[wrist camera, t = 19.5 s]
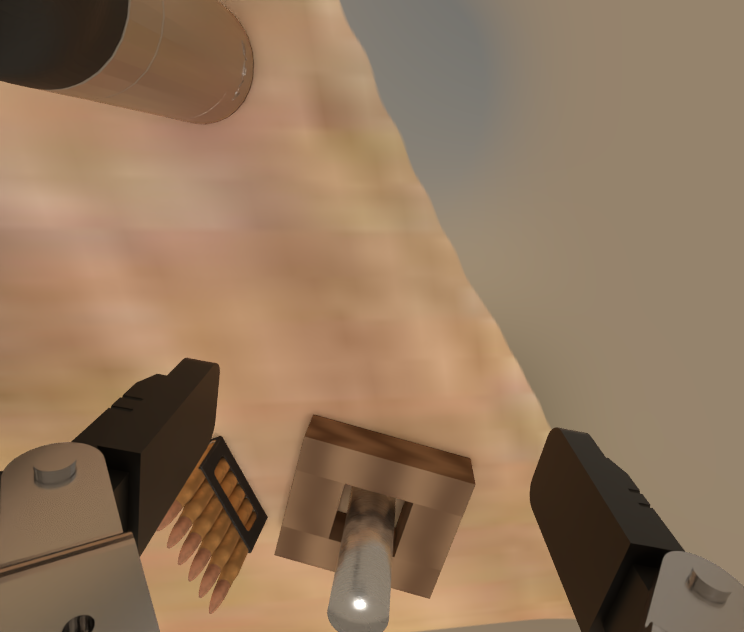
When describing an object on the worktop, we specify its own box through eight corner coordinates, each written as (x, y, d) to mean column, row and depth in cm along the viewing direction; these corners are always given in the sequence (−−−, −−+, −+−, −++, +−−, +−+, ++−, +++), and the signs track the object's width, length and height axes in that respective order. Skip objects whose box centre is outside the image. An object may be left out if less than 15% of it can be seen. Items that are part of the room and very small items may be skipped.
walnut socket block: (284, 526, 51) (274, 554, 47) (313, 414, 46) (304, 436, 43) (428, 566, 51) (429, 598, 47) (470, 458, 46) (475, 484, 42)
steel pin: (346, 504, 49) (321, 629, 36) (357, 468, 48) (335, 584, 34) (389, 516, 49) (379, 645, 36) (401, 481, 48) (395, 601, 34)
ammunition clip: (205, 440, 48) (141, 524, 37) (221, 435, 48) (161, 517, 37) (252, 522, 51) (206, 624, 39) (267, 518, 51) (225, 619, 39)
